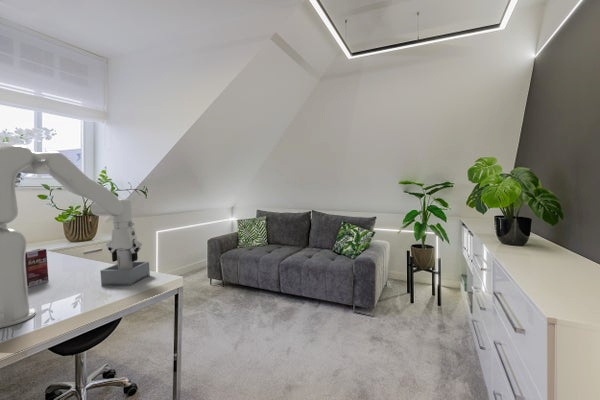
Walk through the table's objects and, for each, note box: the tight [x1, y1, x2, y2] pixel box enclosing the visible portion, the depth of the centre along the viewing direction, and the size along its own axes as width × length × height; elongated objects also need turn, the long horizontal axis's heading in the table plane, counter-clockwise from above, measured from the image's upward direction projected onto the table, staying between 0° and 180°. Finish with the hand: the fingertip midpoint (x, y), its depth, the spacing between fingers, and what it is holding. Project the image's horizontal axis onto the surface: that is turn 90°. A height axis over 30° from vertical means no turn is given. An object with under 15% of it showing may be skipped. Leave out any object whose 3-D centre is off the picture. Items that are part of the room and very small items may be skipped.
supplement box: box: [25, 248, 49, 288], centre depth 130 cm, size 9×5×16 cm, turn 168°
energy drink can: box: [116, 248, 133, 270], centre depth 132 cm, size 6×6×15 cm
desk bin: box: [100, 261, 151, 287], centre depth 132 cm, size 14×14×7 cm
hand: (125, 260), depth 132 cm, fingers open, 9 cm apart
